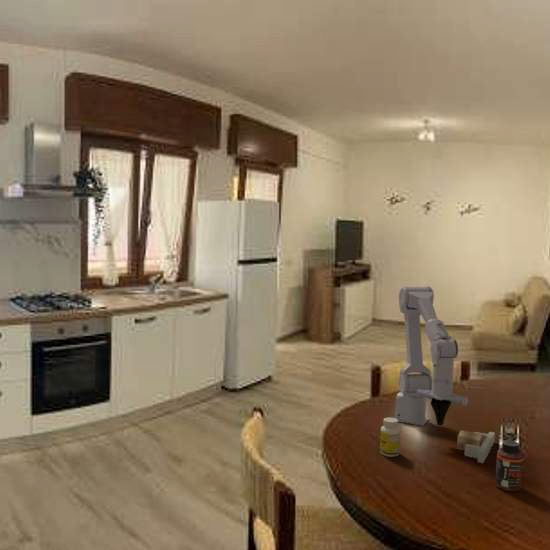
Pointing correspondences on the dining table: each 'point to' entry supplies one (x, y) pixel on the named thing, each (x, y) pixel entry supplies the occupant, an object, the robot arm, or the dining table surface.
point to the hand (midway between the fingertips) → (440, 424)
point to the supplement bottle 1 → (390, 438)
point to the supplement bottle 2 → (509, 466)
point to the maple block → (468, 439)
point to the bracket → (484, 449)
